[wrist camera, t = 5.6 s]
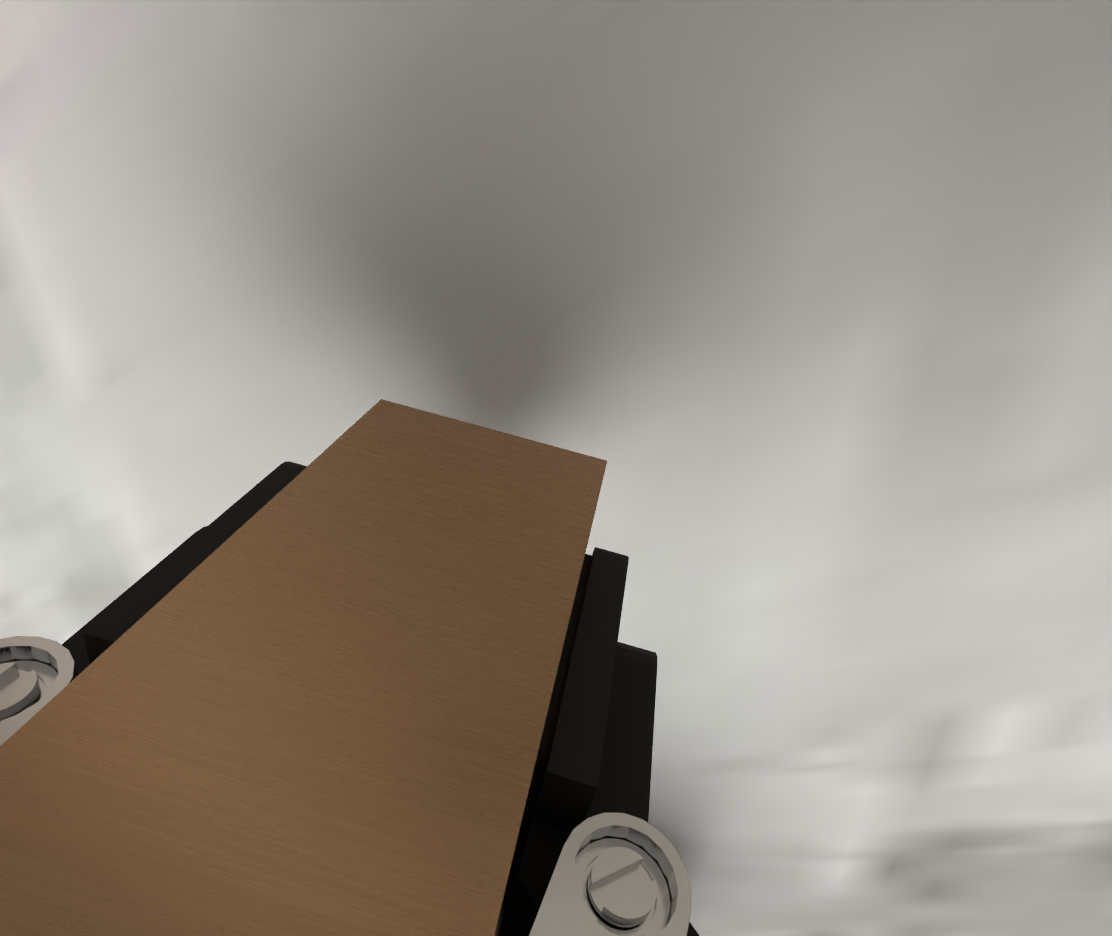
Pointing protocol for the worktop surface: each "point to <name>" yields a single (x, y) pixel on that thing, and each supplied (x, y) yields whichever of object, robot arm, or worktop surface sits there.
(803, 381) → the worktop surface
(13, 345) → the worktop surface
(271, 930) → the blade tool
